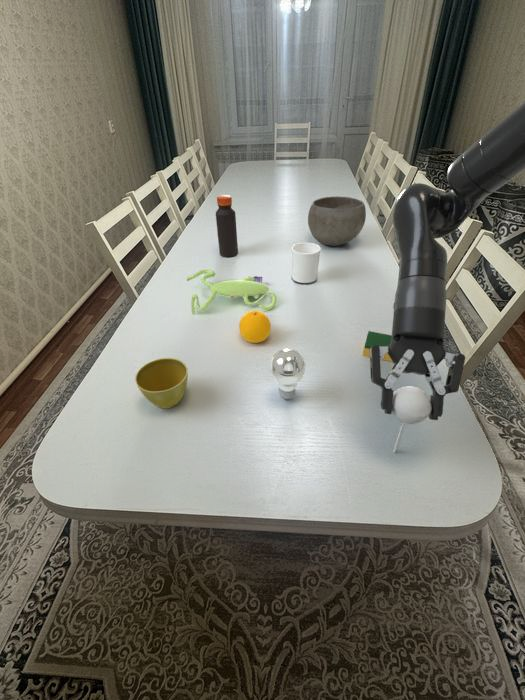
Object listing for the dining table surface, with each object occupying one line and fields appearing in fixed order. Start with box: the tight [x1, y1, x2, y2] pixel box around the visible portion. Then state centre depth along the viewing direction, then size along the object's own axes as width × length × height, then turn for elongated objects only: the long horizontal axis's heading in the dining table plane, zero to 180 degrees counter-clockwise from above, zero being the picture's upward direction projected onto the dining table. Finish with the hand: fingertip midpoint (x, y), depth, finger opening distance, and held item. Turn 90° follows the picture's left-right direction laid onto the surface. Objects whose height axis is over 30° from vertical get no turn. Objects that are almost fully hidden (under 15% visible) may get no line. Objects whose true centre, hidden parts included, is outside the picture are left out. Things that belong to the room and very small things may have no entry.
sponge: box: [362, 330, 394, 363], centre depth 84 cm, size 9×6×3 cm, turn 69°
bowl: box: [307, 196, 367, 247], centre depth 134 cm, size 21×21×15 cm
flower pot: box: [134, 357, 189, 409], centre depth 72 cm, size 10×10×7 cm
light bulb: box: [269, 348, 307, 400], centre depth 71 cm, size 7×7×12 cm
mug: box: [291, 242, 322, 285], centre depth 113 cm, size 11×9×10 cm
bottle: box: [215, 194, 239, 258], centre depth 126 cm, size 7×7×20 cm
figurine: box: [186, 269, 277, 315], centre depth 105 cm, size 18×27×6 cm
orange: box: [238, 310, 272, 344], centre depth 88 cm, size 8×8×8 cm
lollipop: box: [391, 385, 432, 453], centre depth 59 cm, size 6×6×15 cm
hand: (410, 416), depth 55 cm, fingers closed on lollipop, 6 cm apart
